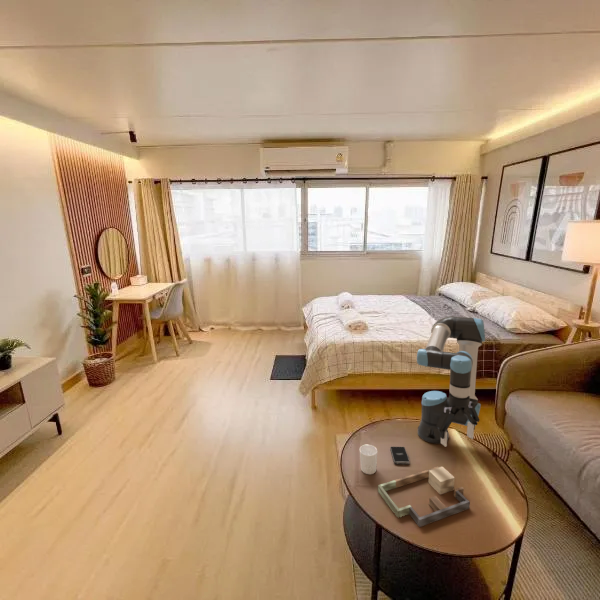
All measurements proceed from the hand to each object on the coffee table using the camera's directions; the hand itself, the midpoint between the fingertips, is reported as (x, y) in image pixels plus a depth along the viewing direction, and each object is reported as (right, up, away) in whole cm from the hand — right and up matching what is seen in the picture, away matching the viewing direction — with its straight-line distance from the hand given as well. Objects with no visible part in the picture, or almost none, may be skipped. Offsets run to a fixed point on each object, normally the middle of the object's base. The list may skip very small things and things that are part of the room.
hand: (457, 440), depth 136 cm
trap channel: (-15, -21, -5) cm, 27 cm away
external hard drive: (-18, -17, +20) cm, 32 cm away
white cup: (-34, -19, +13) cm, 41 cm away
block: (-6, -20, +1) cm, 21 cm away
